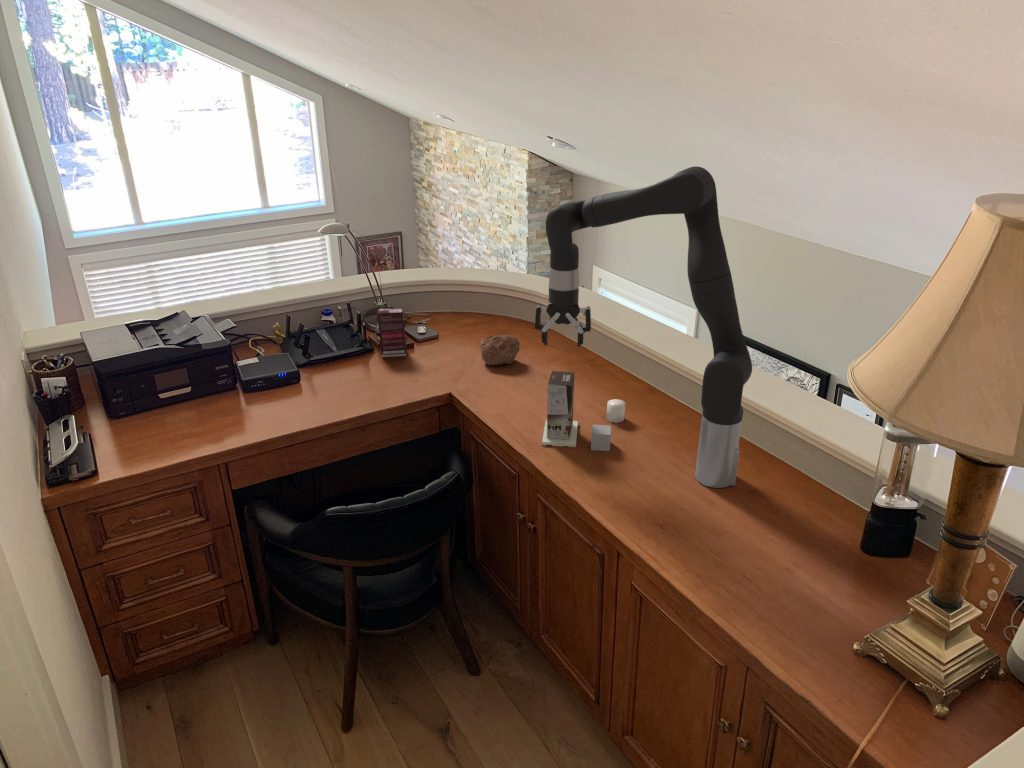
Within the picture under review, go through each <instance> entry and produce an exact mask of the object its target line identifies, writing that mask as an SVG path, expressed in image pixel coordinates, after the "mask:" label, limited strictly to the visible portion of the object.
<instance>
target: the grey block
mask: <svg viewBox="0 0 1024 768" xmlns="http://www.w3.org/2000/svg"><path fill="white" fill-rule="evenodd" d="M591 425H592V426H591V435H590V436H591V439H590V451H597V452H598V451H600V452H601V451H602V452H611V440H612V439H611V438H612V426H611V425H607V424H606V425H603V424H591Z"/></svg>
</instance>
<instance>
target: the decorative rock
mask: <svg viewBox="0 0 1024 768" xmlns="http://www.w3.org/2000/svg"><path fill="white" fill-rule="evenodd" d="M478 346H479V349H480V350H481V354H480V355H481V359H482V360H483V361H484V362H485V363H486V364H487V365H489V366H502V365H505V364H506V365H511V364H512V363H513V362H514V360H515V358H516V357H517V355H518V353H520V349H521V348H520V341H519V340H518V338H517V337H516V336H514V335H509V334H507V335H505V334H504V335H490V336H487V337H485V338H482V339H481V341H479V345H478Z"/></svg>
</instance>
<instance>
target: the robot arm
mask: <svg viewBox="0 0 1024 768" xmlns="http://www.w3.org/2000/svg"><path fill="white" fill-rule="evenodd" d="M717 195H718V194H717V186H716V182H715V179H714V177H713V175H712V174H711V173H710V172H709V171H708V169H706V168H704V167H701V166H690V167H687V168H685V169H682V170H680V171H678V172H676V173H675V174H673V175H671V176H670V177H668V178H666V179H663V180H661V181H659V182H656V183H654V184H651V185H649V186H645V187H641V188H635V189H629V190H626V189H625V190H621V191H612V192H609V193H604V194H600V195H597V196H593V197H589V198H586V199H579V200H578V199H577V200H574V201H573V200H572V201H569V202H568V201H567V202H565V203H563V204H560V205H558V206H554V207H552V208H551V209H550V210H549V211H548V212H547V215H546V219H545V233H546V237H547V243H548V246H549V251H550V254H549V275H548V304H547V306H542V305H541V304H537V305H536V308H535V318H534V319H535V320H534V329H535V330H538V331H541V342H542V344H543V345H544V346H548V337H549V334H548V332H549V329H550V327H552V326H553V324H554V323H555V324H556V325H569V324H571V325H572V326H573V328H575V329H576V331H577V347H578V348H579V347H581V346H582V345H584V335H585V333H586V332H591V330H592V329H591V328H592V319H591V318H592V317H591V315H592V313H591V312H592V311H591V306H590V305H589V306H586V307H580V305H579V299H580V298H579V297H580V296H579V295H580V294H579V293H580V291H579V288H580V271H579V264H580V263H579V260H580V259H579V257H580V256H579V255H580V254H579V253H580V252H579V247H578V245H577V244H576V243H574V242H573V236H572V233H573V232H576V231H579V230H582V229H586V228H590V227H591V228H600V227H606V226H609V225H615V224H618V223H622V222H627V221H632V220H634V219H638V218H644V217H650V216H659V215H683V216H684V219H685V224H686V227H687V232H688V234H687V235H688V249H687V263H686V264H687V265H686V266H687V267H686V268H687V277H688V278H687V279H688V282H689V287H690V293H691V297H692V300H693V303H694V305H695V308H696V309H697V312H698V313H699V315H700V316H701V318H702V319H703V321H704V322H705V324H706V326H707V328H708V330H709V333H710V337H711V342H712V343H711V344H712V351H713V358H712V359H711V360H710V361H709V362H708V363H707V365H706V367H705V369H704V371H703V372H704V373H703V377H702V385H701V397H700V398H701V400H700V402H701V408H702V412H701V413H702V414H701V422H700V430H699V438H698V439H699V440H698V446H697V447H698V448H697V455H696V465H695V471H694V472H695V473H694V474H695V475H694V477H695V480H696V481H697V482H698V483H700V484H701V485H703V486H706V487H709V488H712V489H713V488H715V489H721V488H722V489H723V488H728V487H730V486H736V481H737V473H738V466H739V460H740V454H741V453H740V451H741V450H740V449H739V444H740V437H741V429H742V422H743V416H744V407H743V406H742V399H743V390H744V386H745V384H746V383H747V382H748V381H749V379H750V378H751V377H752V372H753V363H752V359H751V356H750V352H749V350H748V346H747V344H746V341H745V337H744V335H743V331H742V327H741V322H740V316H739V315H740V314H739V309H738V305H737V300H736V293H735V288H734V282H733V277H732V272H731V267H730V264H729V260H728V255H727V250H726V246H725V243H724V242H725V241H724V238H723V233H722V230H721V224H720V218H719V208H718V206H719V205H718V196H717ZM545 312H546V313H547V314H548V316H549V317H548V319H547V320H546V321H545V322H544V323H543V324H542V323H541V321H542V320H541V318H542V316H543V315H544V314H545ZM580 313H581V315H582V316H583V317H585V324H584V325H583V324H582V323H581V322H580V319H579V318H578V316H579V315H580Z"/></svg>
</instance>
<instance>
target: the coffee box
mask: <svg viewBox="0 0 1024 768" xmlns="http://www.w3.org/2000/svg"><path fill="white" fill-rule="evenodd" d="M574 394H575V371H561V370H560V371H557V370H552V371H551V374H550V376H549V379H548V384H547V405H546V406H547V410H546V411H547V413H546V417H547V418H546V419H547V438H554V439H564V440H569V438H570V434H571V430H572V425H573V421H574V402H575V401H574V400H575V399H574Z"/></svg>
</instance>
